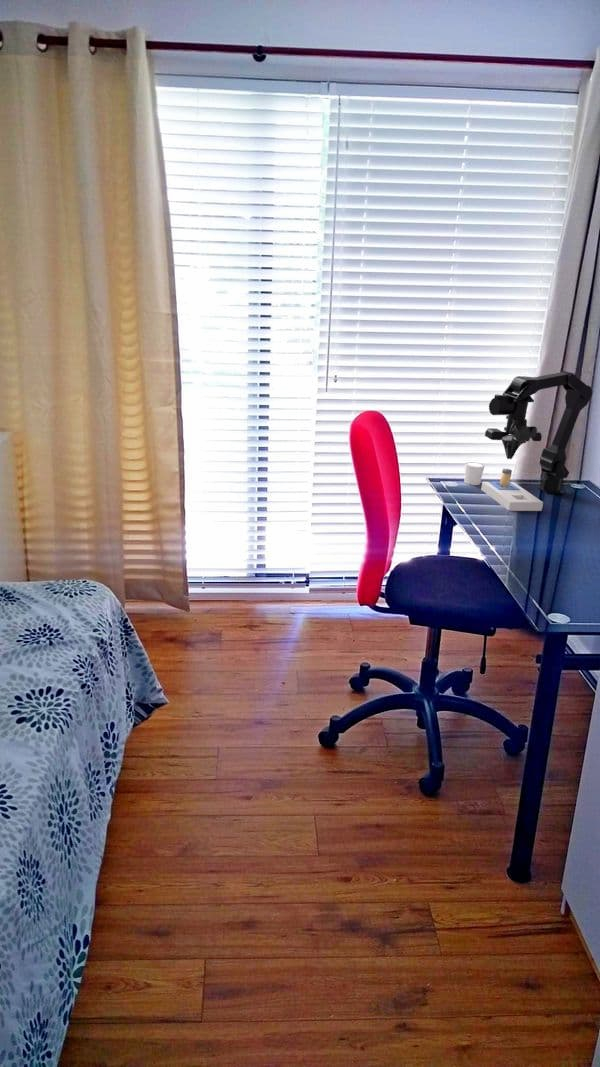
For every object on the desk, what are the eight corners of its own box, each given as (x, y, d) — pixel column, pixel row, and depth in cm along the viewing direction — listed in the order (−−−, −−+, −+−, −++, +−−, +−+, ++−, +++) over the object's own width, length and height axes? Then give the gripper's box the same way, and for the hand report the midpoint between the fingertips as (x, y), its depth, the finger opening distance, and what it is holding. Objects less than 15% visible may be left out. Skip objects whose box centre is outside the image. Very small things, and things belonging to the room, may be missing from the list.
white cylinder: (458, 480, 287) (461, 462, 285) (473, 479, 290) (476, 461, 288) (470, 486, 282) (473, 467, 279) (485, 485, 284) (488, 466, 282)
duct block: (511, 489, 281) (513, 481, 280) (541, 510, 261) (543, 501, 260) (481, 489, 279) (482, 480, 277) (508, 510, 259) (510, 501, 258)
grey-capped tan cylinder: (504, 492, 277) (509, 468, 274) (508, 495, 274) (513, 471, 271) (496, 492, 277) (501, 468, 273) (500, 495, 274) (505, 471, 270)
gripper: (502, 419, 256) (494, 465, 261) (553, 421, 260) (544, 466, 266) (488, 411, 266) (480, 455, 271) (537, 413, 270) (529, 456, 276)
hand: (509, 458), depth 271 cm, fingers closed
